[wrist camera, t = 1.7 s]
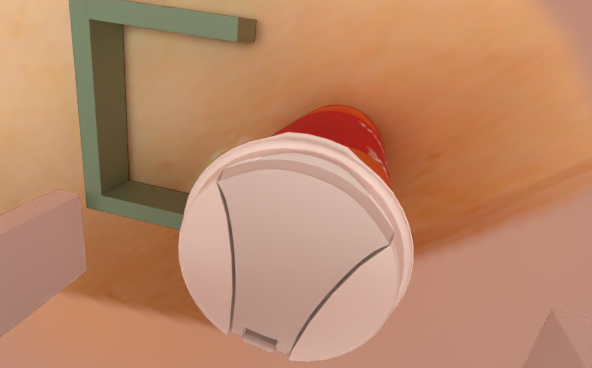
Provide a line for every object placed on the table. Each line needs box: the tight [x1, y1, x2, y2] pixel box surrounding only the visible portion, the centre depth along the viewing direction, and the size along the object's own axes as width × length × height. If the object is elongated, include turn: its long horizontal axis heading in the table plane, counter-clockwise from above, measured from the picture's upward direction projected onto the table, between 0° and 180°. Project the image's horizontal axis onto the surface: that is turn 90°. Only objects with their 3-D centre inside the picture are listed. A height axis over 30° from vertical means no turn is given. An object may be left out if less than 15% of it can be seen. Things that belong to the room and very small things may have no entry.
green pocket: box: [69, 0, 256, 230], centre depth 24 cm, size 10×13×3 cm
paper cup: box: [178, 105, 414, 361], centre depth 18 cm, size 8×8×14 cm
